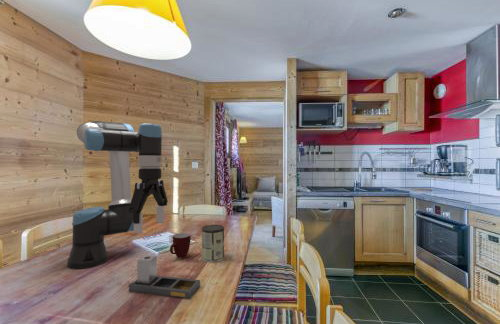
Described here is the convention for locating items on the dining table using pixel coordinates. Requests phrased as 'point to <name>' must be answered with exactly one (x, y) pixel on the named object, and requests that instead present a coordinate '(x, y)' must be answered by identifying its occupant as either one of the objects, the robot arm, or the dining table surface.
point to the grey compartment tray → (168, 287)
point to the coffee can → (212, 243)
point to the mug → (181, 244)
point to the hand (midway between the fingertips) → (150, 227)
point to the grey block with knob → (147, 270)
